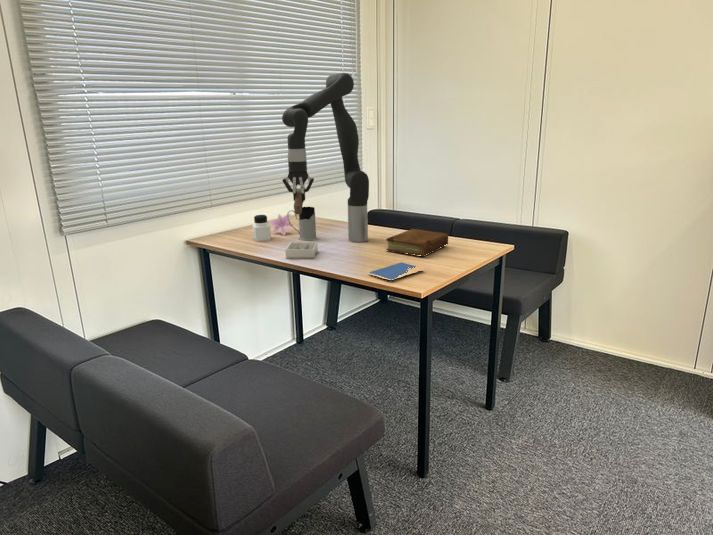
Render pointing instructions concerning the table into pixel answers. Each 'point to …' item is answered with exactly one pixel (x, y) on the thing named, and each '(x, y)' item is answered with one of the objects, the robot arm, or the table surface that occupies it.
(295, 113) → the robot arm
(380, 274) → the blue notebook
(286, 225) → the lily
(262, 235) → the medicine bottle
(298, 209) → the wooden plank piece
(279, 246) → the table surface
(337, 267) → the table surface
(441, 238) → the diary
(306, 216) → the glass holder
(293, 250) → the plank slot holder tray
